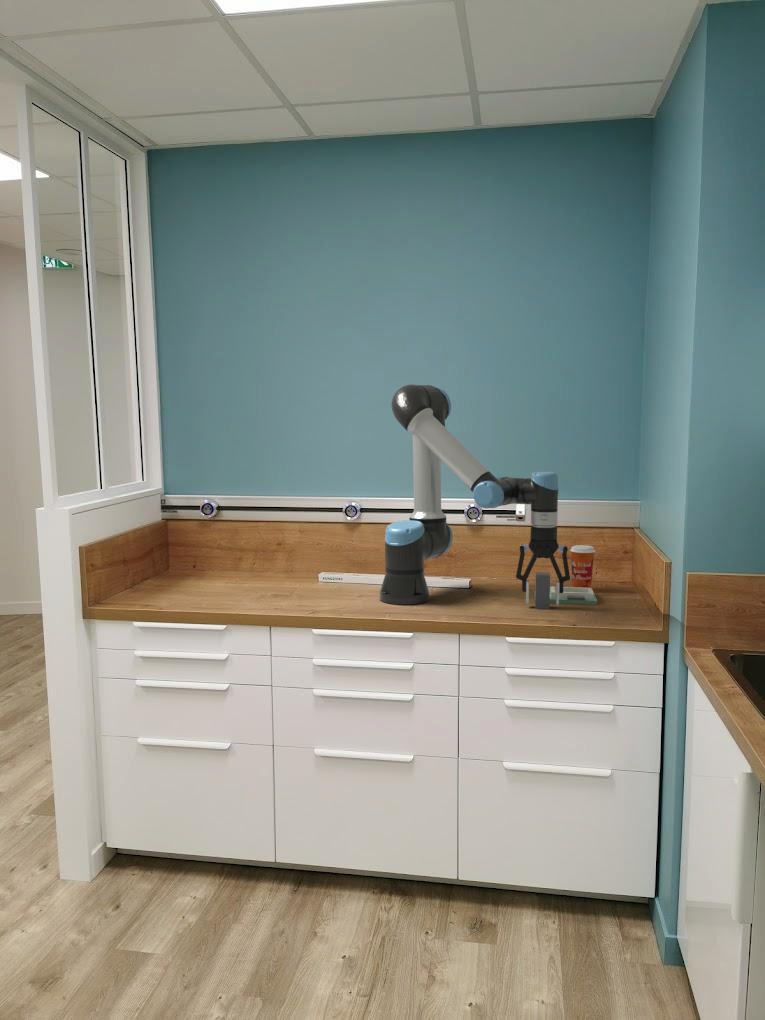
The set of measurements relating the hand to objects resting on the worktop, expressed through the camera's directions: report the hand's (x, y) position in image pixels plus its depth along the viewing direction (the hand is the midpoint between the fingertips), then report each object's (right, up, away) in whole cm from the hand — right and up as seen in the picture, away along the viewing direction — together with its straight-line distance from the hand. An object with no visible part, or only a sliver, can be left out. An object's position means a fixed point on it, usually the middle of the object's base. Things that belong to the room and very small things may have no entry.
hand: (542, 603), depth 237 cm
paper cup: (+17, +1, +23) cm, 29 cm away
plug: (0, -1, 0) cm, 1 cm away
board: (+9, 0, +12) cm, 15 cm away
